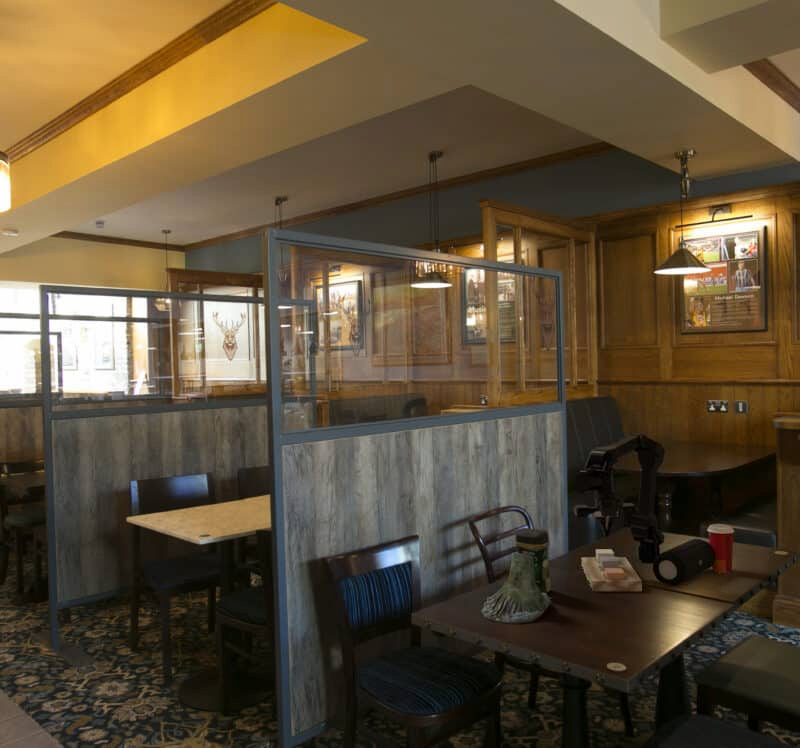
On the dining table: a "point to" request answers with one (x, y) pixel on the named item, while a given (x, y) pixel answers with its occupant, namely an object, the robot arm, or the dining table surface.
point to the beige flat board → (600, 584)
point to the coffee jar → (536, 554)
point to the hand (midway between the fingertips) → (606, 536)
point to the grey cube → (608, 562)
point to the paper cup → (721, 546)
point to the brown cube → (614, 574)
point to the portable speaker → (683, 562)
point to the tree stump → (517, 595)
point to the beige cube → (603, 554)
